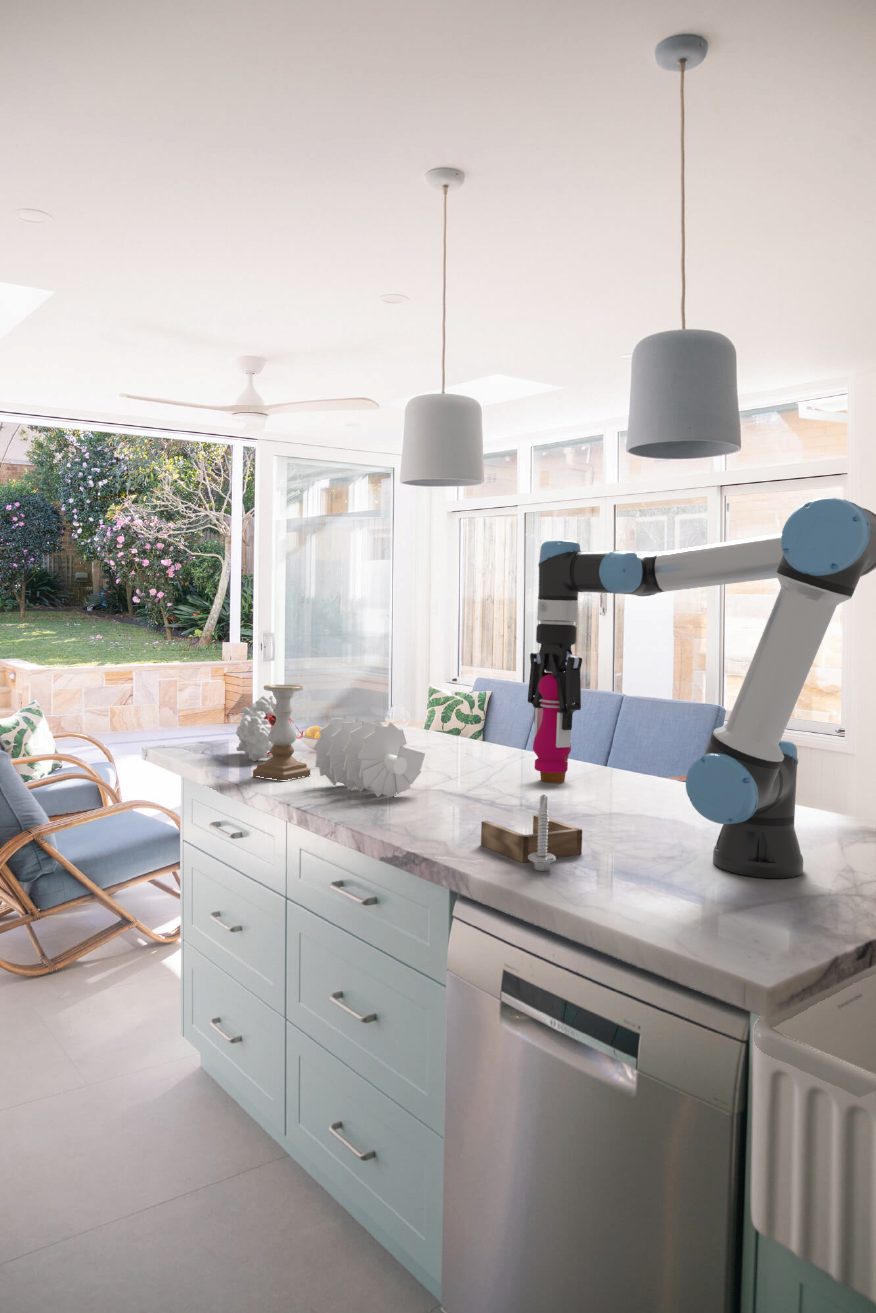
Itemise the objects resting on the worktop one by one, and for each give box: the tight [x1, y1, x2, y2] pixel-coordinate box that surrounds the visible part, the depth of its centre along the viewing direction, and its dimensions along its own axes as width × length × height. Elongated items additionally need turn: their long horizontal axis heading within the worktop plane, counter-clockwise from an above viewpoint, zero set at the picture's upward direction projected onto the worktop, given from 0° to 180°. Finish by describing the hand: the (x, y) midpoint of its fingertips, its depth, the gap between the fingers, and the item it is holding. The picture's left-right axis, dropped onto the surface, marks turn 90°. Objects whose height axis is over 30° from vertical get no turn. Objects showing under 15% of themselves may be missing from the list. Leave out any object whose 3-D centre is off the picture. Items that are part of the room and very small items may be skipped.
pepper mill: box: [532, 672, 572, 773], centre depth 169 cm, size 7×7×20 cm
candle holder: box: [252, 684, 311, 780], centre depth 233 cm, size 11×11×24 cm
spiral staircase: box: [313, 714, 426, 798], centre depth 217 cm, size 18×18×25 cm
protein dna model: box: [235, 695, 304, 762], centre depth 264 cm, size 20×18×25 cm
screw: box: [528, 794, 557, 872], centre depth 153 cm, size 13×5×5 cm
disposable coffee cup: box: [539, 737, 573, 784], centre depth 237 cm, size 10×10×12 cm
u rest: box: [480, 814, 583, 864], centre depth 166 cm, size 13×13×4 cm
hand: (551, 743), depth 169 cm, fingers closed on pepper mill, 6 cm apart
